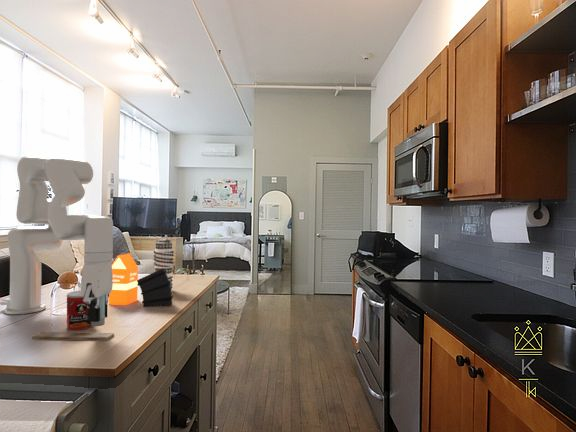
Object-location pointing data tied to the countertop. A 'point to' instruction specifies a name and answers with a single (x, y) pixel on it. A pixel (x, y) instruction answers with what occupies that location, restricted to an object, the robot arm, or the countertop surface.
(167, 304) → the black layered block
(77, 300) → the canned food
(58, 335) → the batten
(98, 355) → the countertop surface
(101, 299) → the peg
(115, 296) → the orange juice
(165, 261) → the decorative candle
